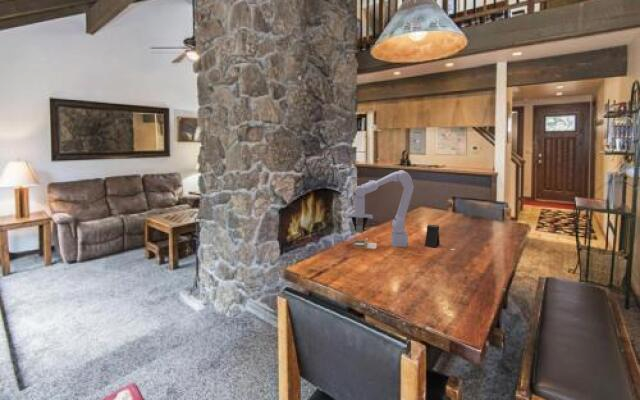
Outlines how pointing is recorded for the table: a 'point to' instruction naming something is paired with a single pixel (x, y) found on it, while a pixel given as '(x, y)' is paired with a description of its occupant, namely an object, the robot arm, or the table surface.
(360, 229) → the gray block
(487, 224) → the table surface
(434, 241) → the phone stand
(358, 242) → the door board
